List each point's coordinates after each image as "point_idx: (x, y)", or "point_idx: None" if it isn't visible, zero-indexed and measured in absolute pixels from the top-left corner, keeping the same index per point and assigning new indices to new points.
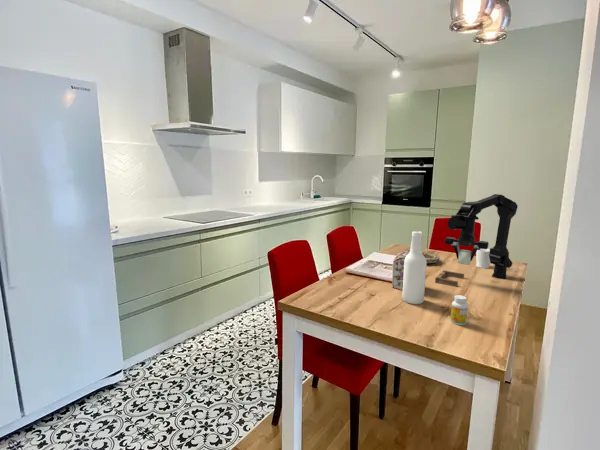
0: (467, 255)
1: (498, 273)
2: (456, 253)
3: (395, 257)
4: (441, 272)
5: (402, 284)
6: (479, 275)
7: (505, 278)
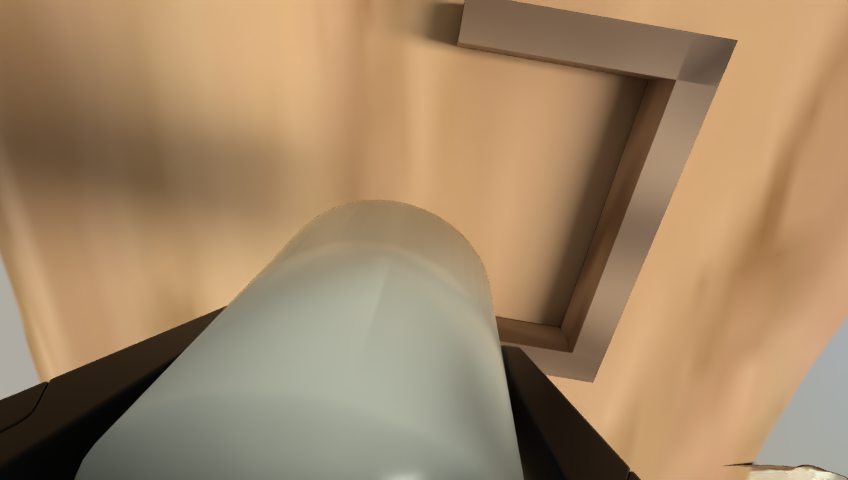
0: (238, 318)
1: None
2: (591, 443)
3: None
4: (624, 307)
5: None
6: None
7: None
